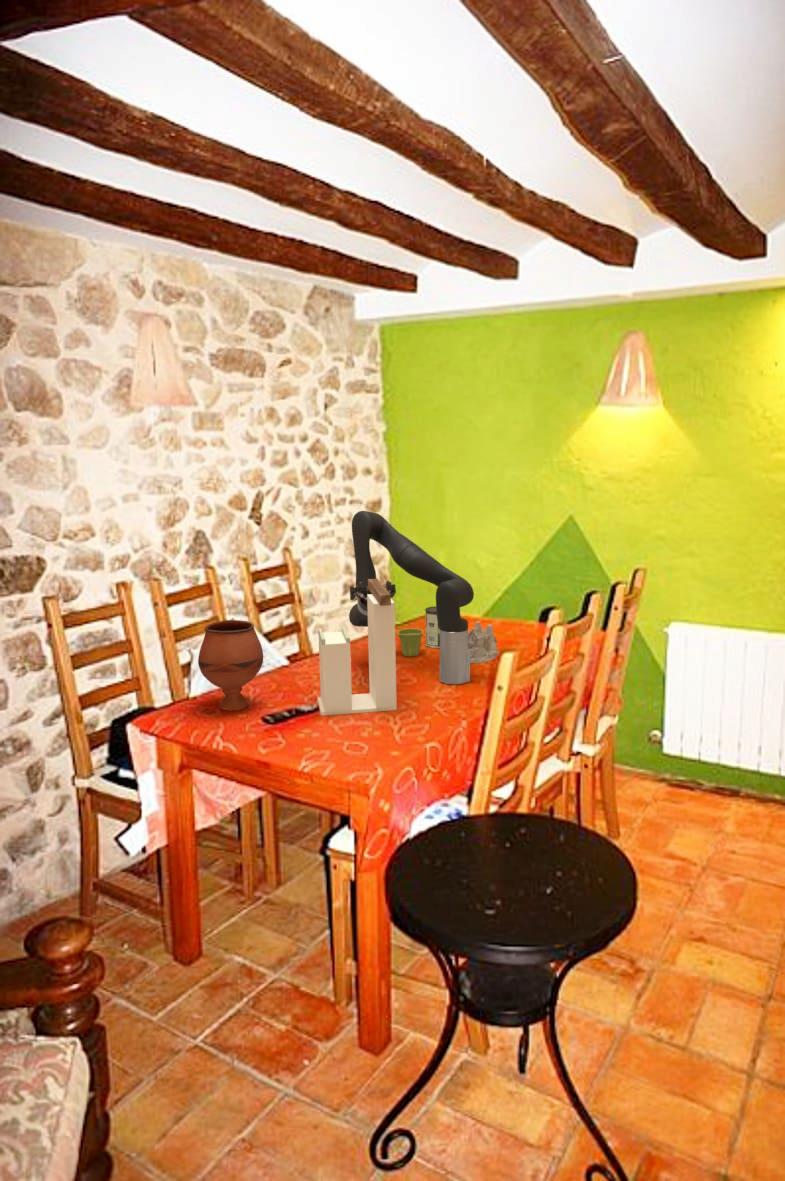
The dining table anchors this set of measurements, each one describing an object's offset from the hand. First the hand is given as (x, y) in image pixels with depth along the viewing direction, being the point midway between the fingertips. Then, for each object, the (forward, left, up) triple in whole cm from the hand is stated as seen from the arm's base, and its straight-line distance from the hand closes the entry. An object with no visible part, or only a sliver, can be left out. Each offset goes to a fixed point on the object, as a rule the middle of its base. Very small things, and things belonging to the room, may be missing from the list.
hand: (374, 584), depth 245 cm
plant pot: (-18, -40, -34) cm, 56 cm away
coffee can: (-31, -51, -34) cm, 69 cm away
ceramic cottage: (-40, -31, -35) cm, 61 cm away
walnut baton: (0, +8, -2) cm, 9 cm away
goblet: (+44, +4, -34) cm, 56 cm away
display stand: (+8, +11, -34) cm, 37 cm away
